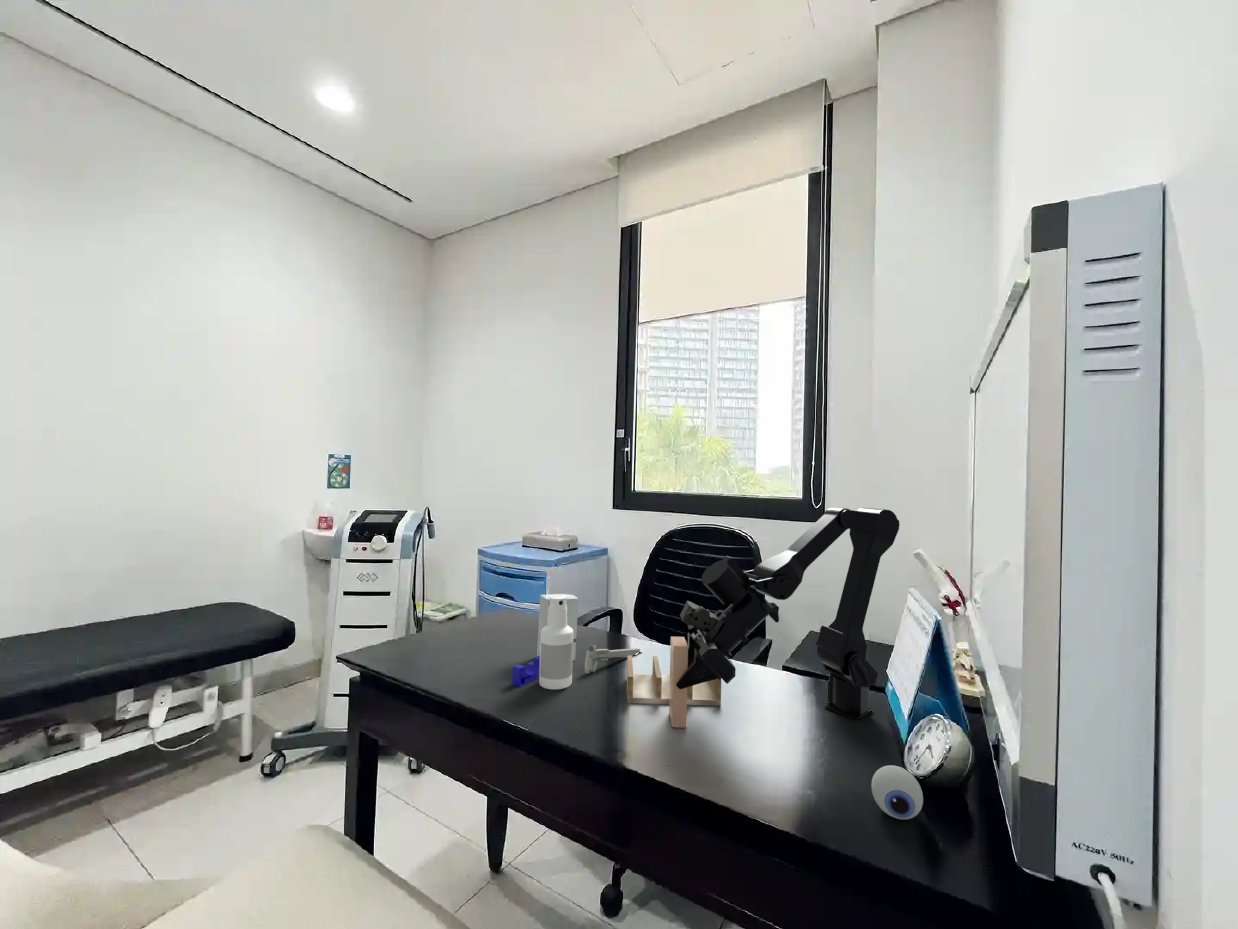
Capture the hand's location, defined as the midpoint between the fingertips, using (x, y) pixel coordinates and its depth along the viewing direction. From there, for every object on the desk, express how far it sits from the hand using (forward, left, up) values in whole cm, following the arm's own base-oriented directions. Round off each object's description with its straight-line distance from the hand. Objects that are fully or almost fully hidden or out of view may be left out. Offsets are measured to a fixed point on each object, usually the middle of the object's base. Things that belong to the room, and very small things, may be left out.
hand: (676, 680), depth 93 cm
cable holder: (+32, +13, -8) cm, 35 cm away
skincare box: (+39, +1, -7) cm, 40 cm away
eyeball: (-36, -6, -7) cm, 37 cm away
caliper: (+29, -9, -8) cm, 32 cm away
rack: (+10, -8, -7) cm, 15 cm away
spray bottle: (+26, +9, -7) cm, 29 cm away
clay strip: (0, 0, -7) cm, 7 cm away
